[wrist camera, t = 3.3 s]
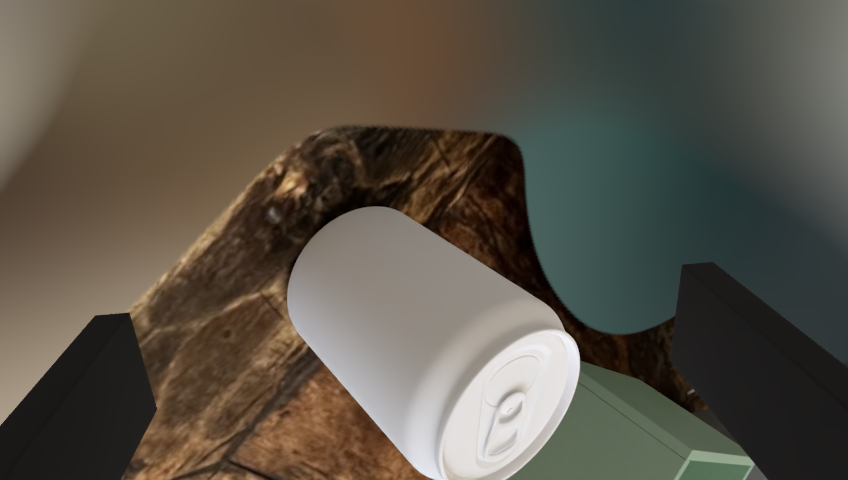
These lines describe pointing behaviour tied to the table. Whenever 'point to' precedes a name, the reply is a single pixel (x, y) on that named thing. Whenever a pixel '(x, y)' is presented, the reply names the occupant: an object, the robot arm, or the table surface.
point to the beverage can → (433, 344)
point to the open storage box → (632, 437)
